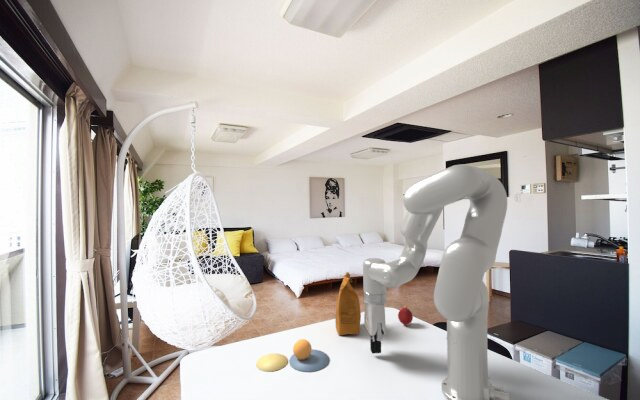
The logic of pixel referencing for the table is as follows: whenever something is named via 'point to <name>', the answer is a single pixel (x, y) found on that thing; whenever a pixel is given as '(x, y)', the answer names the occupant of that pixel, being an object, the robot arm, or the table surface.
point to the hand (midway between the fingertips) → (375, 351)
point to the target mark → (310, 362)
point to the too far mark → (272, 362)
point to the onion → (405, 316)
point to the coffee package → (347, 309)
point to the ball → (302, 349)
